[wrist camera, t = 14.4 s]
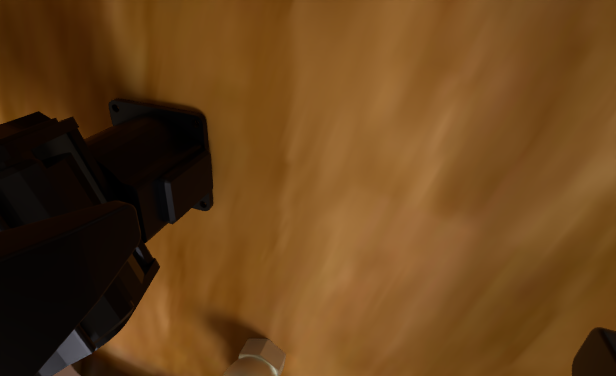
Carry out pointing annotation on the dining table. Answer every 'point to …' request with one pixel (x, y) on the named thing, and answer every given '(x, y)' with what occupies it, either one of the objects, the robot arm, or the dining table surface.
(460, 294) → the dining table surface
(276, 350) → the valve
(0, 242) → the robot arm
